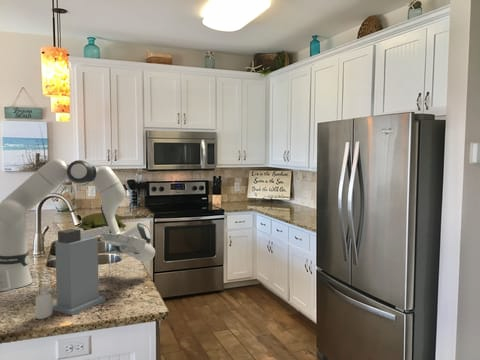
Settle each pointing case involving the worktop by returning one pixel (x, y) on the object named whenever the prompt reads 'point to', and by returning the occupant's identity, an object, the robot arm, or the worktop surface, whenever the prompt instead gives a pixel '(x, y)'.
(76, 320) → the worktop surface
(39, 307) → the eye dropper bottle
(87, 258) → the stand
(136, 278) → the worktop surface
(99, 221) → the olive green cushion
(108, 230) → the knobbed shaft
